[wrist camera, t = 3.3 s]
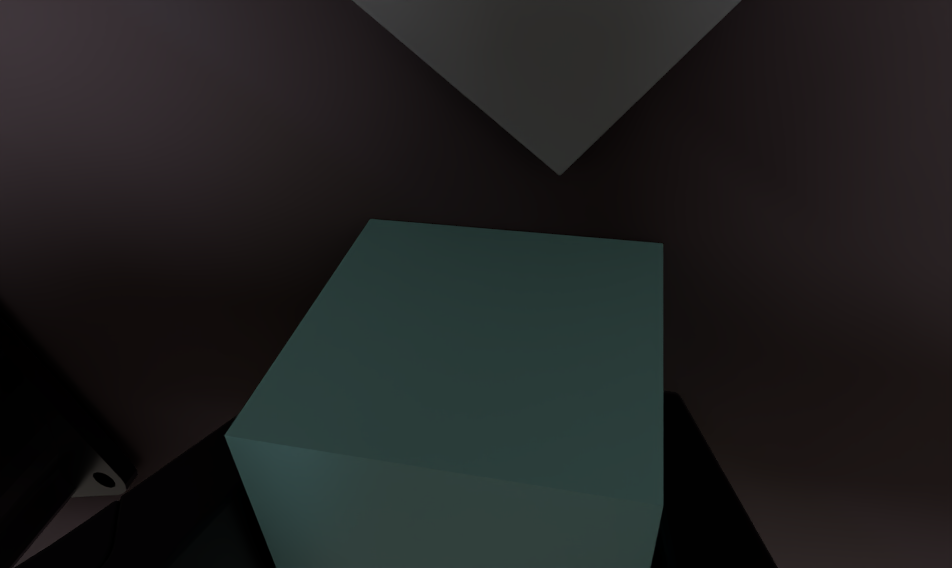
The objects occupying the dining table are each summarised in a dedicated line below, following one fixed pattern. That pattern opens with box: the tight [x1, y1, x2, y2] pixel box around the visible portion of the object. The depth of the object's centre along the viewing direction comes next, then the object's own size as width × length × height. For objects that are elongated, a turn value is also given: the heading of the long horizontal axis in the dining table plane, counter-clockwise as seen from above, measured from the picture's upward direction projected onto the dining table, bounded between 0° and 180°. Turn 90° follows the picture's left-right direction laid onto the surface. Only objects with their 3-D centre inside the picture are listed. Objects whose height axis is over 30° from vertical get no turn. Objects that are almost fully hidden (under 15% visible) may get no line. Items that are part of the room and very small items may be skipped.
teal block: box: [224, 219, 663, 568], centre depth 9 cm, size 4×4×4 cm
